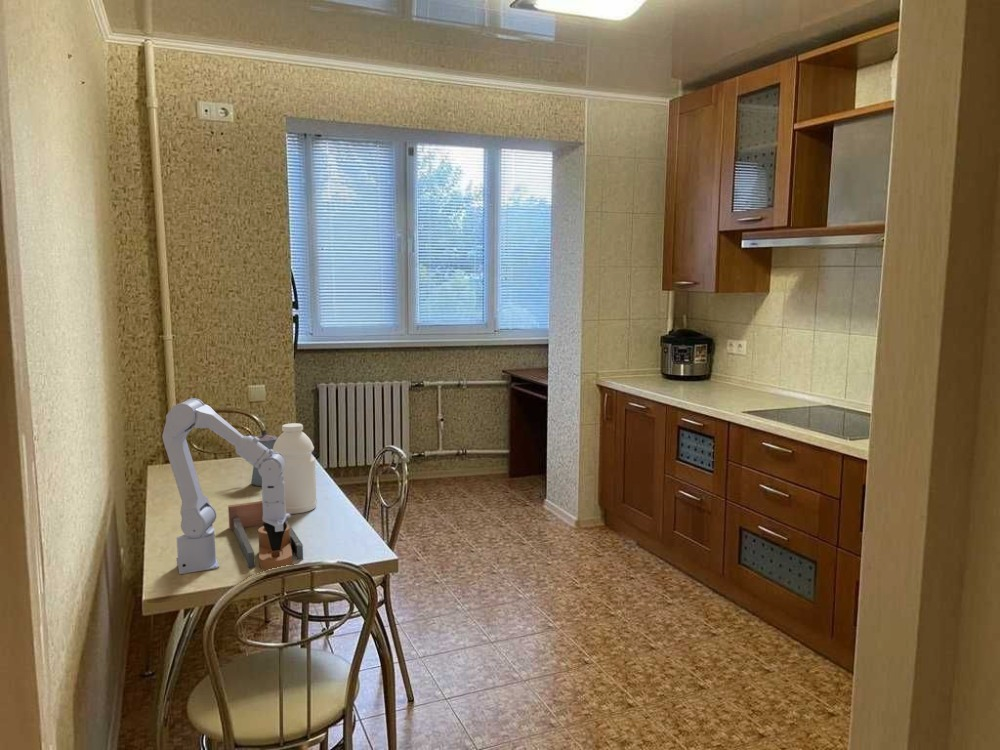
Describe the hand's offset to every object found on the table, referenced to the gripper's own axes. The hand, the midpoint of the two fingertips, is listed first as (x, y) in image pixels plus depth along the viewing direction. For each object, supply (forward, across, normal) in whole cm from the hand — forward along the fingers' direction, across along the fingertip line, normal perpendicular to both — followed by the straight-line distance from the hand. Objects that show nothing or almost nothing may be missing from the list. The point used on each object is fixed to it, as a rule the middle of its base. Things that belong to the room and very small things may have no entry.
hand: (275, 549), depth 194 cm
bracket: (+4, +4, 0) cm, 6 cm away
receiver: (+4, +17, 0) cm, 18 cm away
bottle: (+4, +47, -14) cm, 49 cm away
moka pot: (+4, +83, -9) cm, 84 cm away
